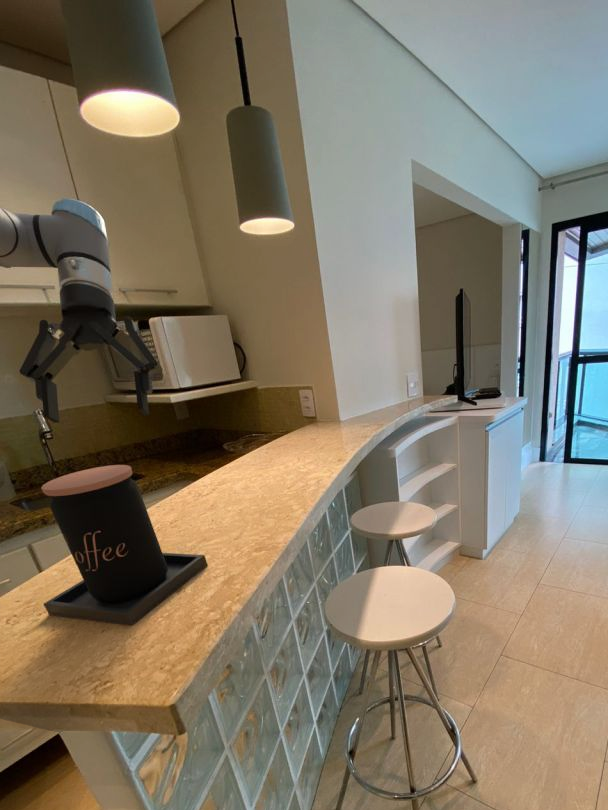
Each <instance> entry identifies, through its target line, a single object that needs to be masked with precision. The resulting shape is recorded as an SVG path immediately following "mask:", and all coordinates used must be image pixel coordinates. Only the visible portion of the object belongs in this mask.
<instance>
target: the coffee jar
mask: <svg viewBox="0 0 608 810" xmlns="http://www.w3.org/2000/svg"><path fill="white" fill-rule="evenodd" d="M132 469H133V468H132V466H131V465H127V464H112V465H104V466H97V467H93V468H88V469H83V470H79V471H75V472H71V473H68V474H65V475H62V476H59V477H56V478H54V479H51V480H48V481H47V482H46V483H44V484H43V485H42V486H41V489H40V490H41V491H42V493H43V494H44V495H46V496H47V497H50V501H49V504H48V505H49V509H50V511H51V513H52V515H53V518H54V520H55V521H56V524H57V526H58V529H59V530H60V532H61V535H62V537H63V539H64V541H65V543H66V545H67V547H68V550H69V553H70V554H71V556H72V559H73V560H74V562H75V565H76V567H77V569H78V571H79V573H80V575H81V577H82V580H84V582H85V584H86V586H87V588H88V591H89V593H90V594H91V595H92V596H93V597H94V598H95V599H96V600H100V601H101V602H103V603H108V604H110V603H120V602H125V601H129V600H132V599H135V598H138V597H141V596H143V595H145V594H147V593H149V592H151V591H152V590H154V589H155V588H157V587H158V586H159V585H160V584H161V583H162V582H163V581H164V579H165V577H166V573H167V570H168V568H167V564H166V561H165V559H164V556H163V553H164V552H163V551H162V548H161V545H160V543H159V540H158V537H157V534H156V532H155V528H154V526H153V523H152V521H151V518H150V516H149V515H150V514H149V513H148V509H147V507H146V505H145V502H144V501H145V500H144V498H143V496H142V493H141V490H140V488H139V485H138V483H137V482H136V480H134V479H132V475H133V470H132Z"/></svg>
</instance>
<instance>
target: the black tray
mask: <svg viewBox="0 0 608 810" xmlns="http://www.w3.org/2000/svg"><path fill="white" fill-rule="evenodd" d="M162 553H163V556H164V559H165V561H166V564H167V568H168V570H167V573H166V577H165V579H164V581H163V582H162V583H161V584H160V585H159V586H158V587H157V588H155V589H154V590H152V591H151V592H149V593H147V594H145V595H143V596H141V597H138V598H135V599H132V600H129V601H125V602H120V603H110V604H108V603H103V602H101V601H100V600H96V599H95V598H94V597H93V596H92V595H91V594H90V593H89V591H88V588H87V586H86V584H85V582H84V580H83V579H82V580H81V581H79V582H78V583H76V584H74V585H73V586H70V587H69V588H67V589H65V590H64V591H62V592H61V593H59V594H58V595H56V596H54V597H52V598H50V599H49V600H47V601H46V602H44V603H43V607H44V609H45V610H46V612H47V614H48V616H53V617H62V618H70V619H78V620H85V621H93V622H103V623H110V624H118V625H123V626H125V625H126V626H134V625H135V624H136V623H137V622H139V621H140V620H141V619H142V618H143V617H145V616H146V615H147V614H148V613H150V612H151V611H152V610H153V609H155V608H156V607H158V605H160V604H161V603H162V602H164V601H165V600H166V599H168V597H170V596H171V595H172V594H173V593H175V592H176V591H178V590H179V589H180V588H181V587H183V586H184V585H185V584H186V583H187V582H189V581H190V580H191V579H192V578H194V577H195V576H197V574H199V573H200V572H201V571H203V570H204V569H205V568H206V567H208V561H207V558H206V555H205V554H193V553H192V554H191V553H176V552H175V553H174V552H162Z"/></svg>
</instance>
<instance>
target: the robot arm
mask: <svg viewBox="0 0 608 810" xmlns="http://www.w3.org/2000/svg"><path fill="white" fill-rule="evenodd" d="M51 210H52V211H51V212H50V213H51V214H29V213H28V214H27V213H16V212H10V211H9V210H7V209H5V208H4V207H2V206H0V267H1V268H5V269H11V268H54V269H57V277H58V289H59V304H60V312H61V316H62V319H61V322H60V323H50V322H49V321H48V320H46V319H41V320H39V327H38V333H37V336H36V337H35V339H34V341H33V343H32V345H31V347H30V349H29V351H28V353H27V355H26V357H25V359H24V361H23V363H22V365H21V367H20V369H19V374H20V375H22V376H23V377H25V378H26V379H28V380H29V381H31V382H34V384H35V396H36V398H37V399H38V400H40V401H41V402H42V412H43V417H44V418H45V419H47V420H49V421H51V422H52V423H60V413H59V401H58V387H57V384H56V383H55V382H53V381H54V379H55V378H56V377H57V376H58V375H59V374H60V372H61V371H62V370H63V369H64V368H65V366H66V365H67V364H68V363H69V362H70V360H71V359H72V358H73V357H74V356H77V355H79V354H80V353H81V351H82V350H84V352H89V351H94V350H98V351H105V350H106V349H107V348H109V347H110V348H111V349H113V351H115V352H116V353H118V354H119V355H120V356H121V357H123V359H124V360H125V361H126V362H128V363H129V364H131V366H133V367H134V368H135V369H136V371H135V370H134V371H133V376H134V386H135V393H136V395H135V397H136V404H137V405H136V406H137V410H138V411H139V412H141V413H142V414H143V416H148V415H150V410H149V400H148V395H152V394H153V382H152V381H153V379H152V377H153V375H154V374H161V373H163V370H164V369H163V367H162V366H161V365H160V363H159V362H158V360H157V359H156V357H155V356H154V355H153V353H152V352H151V350H150V349H149V348H148V346H147V345H146V343H145V342H144V340H143V338H141V335H140V333H139V329H138V325H137V324H136V323H135V322H134V320H133V318H131V317H130V316H125V317H124V318H123V320H118V321H117V320H116V319H117V317H116V316H117V315H116V308H115V301H114V299H115V297H114V296H115V295H114V288H113V278H112V271H111V259H110V242H109V239H108V234H107V228H106V223H105V220H104V218H103V217H102V216H101V214H100V213H99V212H98V211H97V210H96V209H95V208H94V207H92V206H91V205H89V204H88V203H86V202H84V201H82V200H80V199H79V200H78V199H74V198H70V197H69V198H62V199H60V200H57V201H55V202H54V203H53V204H52V209H51ZM120 331H122V332H123V333H124V334H125V335H127V336H129V337H130V338H131V340H132V341H133V343H134V344H135V345H136V346H137V348H138V350H139V352H141V354H142V355H143V357H144V358H145V360H146V361H147V362H148V363H146V364H145V363H144V362H142V361H141V360H140V359H139V358H138V357H137V356H135V355H134V354H133V352H130V350H129V349H127V348H126V347H125V346H124V345H123V344H122V343H120V342H119V340H117V339H116V337H117V336H118V334H119V333H120ZM61 334H63V335H61ZM60 335H61V336H60ZM57 340H58V344H57V345H56V343H57ZM71 342H72V343H73V344H71Z"/></svg>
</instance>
